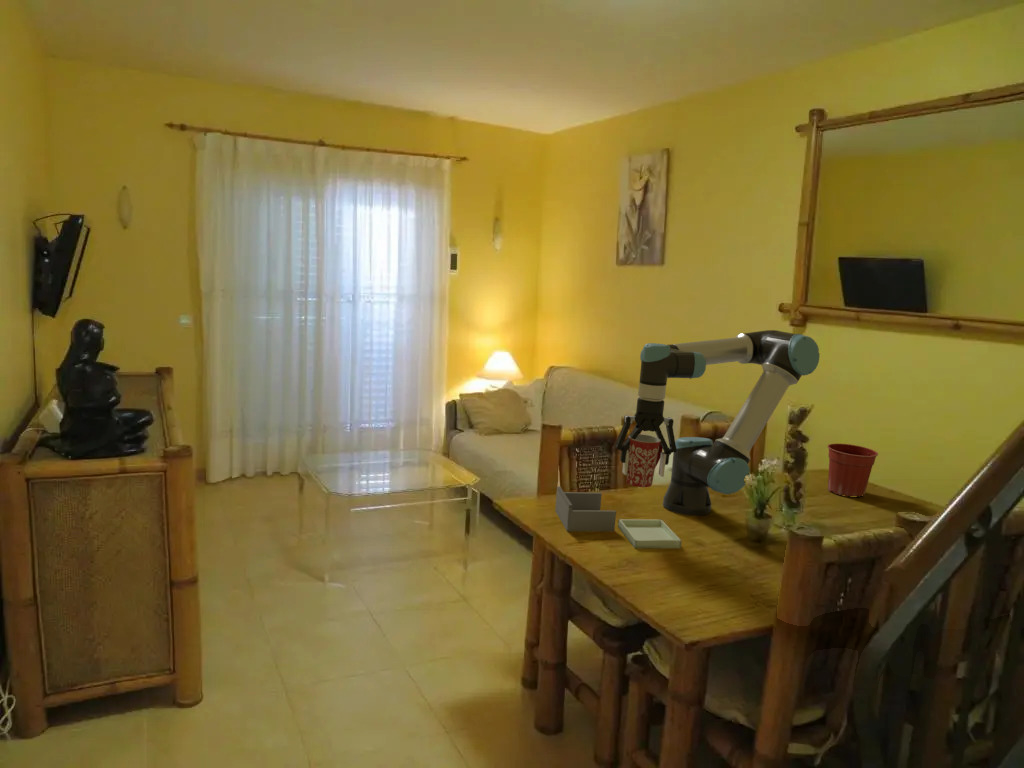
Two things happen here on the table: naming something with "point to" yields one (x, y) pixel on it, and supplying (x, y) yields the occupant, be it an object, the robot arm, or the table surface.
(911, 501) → the table surface
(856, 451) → the flower pot
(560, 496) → the bay
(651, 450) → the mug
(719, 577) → the table surface
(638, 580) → the table surface
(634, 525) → the tray
